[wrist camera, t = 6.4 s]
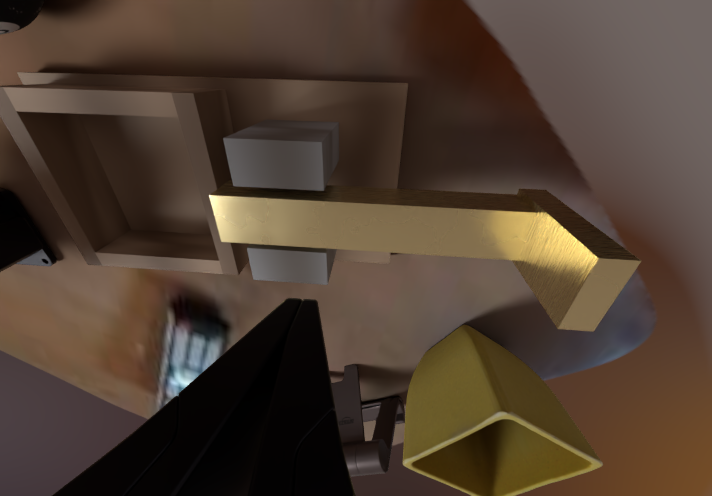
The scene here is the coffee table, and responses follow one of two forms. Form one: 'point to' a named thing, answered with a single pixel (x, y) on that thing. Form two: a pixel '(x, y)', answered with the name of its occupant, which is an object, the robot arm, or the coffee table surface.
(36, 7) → the billiard ball
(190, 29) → the coffee table surface
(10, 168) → the coffee table surface
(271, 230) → the beige wooden bar
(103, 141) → the dock
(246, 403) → the robot arm
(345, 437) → the portable electronic device stand
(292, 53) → the coffee table surface
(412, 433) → the flower pot
